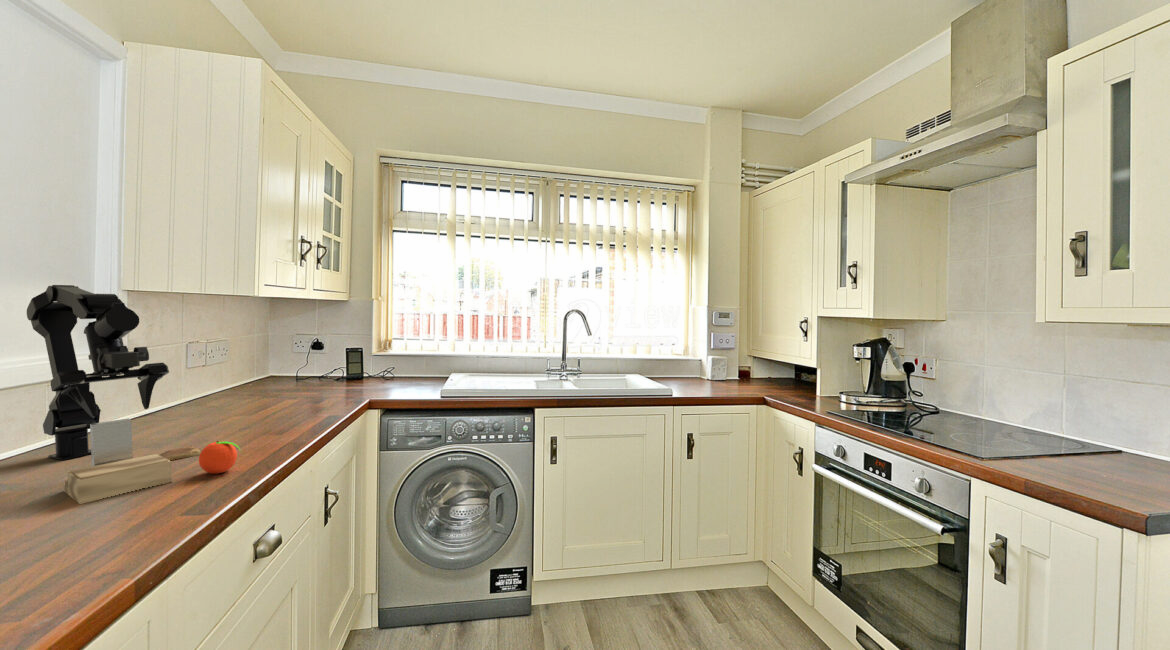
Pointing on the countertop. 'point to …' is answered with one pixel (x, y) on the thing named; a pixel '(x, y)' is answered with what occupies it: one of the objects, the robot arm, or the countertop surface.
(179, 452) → the shard
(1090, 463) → the countertop surface
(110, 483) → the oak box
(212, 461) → the clementine
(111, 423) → the cover plate
